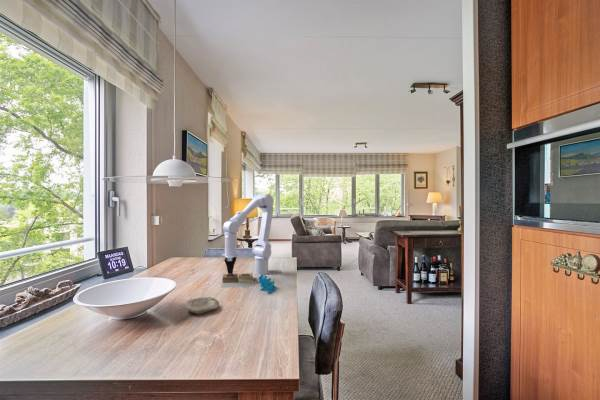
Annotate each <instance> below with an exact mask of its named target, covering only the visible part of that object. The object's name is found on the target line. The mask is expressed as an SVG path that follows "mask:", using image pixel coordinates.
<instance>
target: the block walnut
mask: <svg viewBox="0 0 600 400" xmlns="http://www.w3.org/2000/svg"><path fill="white" fill-rule="evenodd" d="M238 276H239V273H233V276H232V277H228V273H223V275H222V283H232V282H237V280H238Z"/></svg>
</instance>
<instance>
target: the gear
mask: <svg viewBox="0 0 600 400" xmlns="http://www.w3.org/2000/svg"><path fill="white" fill-rule="evenodd" d="M271 280H272V278H271V277H268V275H267V274H265V275H259V276H258V281H257V282H258V284H259V286H260V289H259V291H264V292H266V291H267V294H271V293H272V294H274V292H276V291H277V286H276V285H275V283H276V281H275V280H272V281H271Z"/></svg>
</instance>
